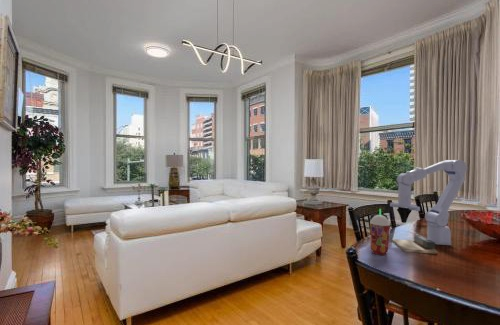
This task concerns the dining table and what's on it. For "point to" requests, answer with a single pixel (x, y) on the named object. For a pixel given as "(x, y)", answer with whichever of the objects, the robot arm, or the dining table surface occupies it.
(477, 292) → the dining table surface
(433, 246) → the leg
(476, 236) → the dining table surface
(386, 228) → the smoothie
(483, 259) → the dining table surface
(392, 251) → the dining table surface
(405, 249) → the board
